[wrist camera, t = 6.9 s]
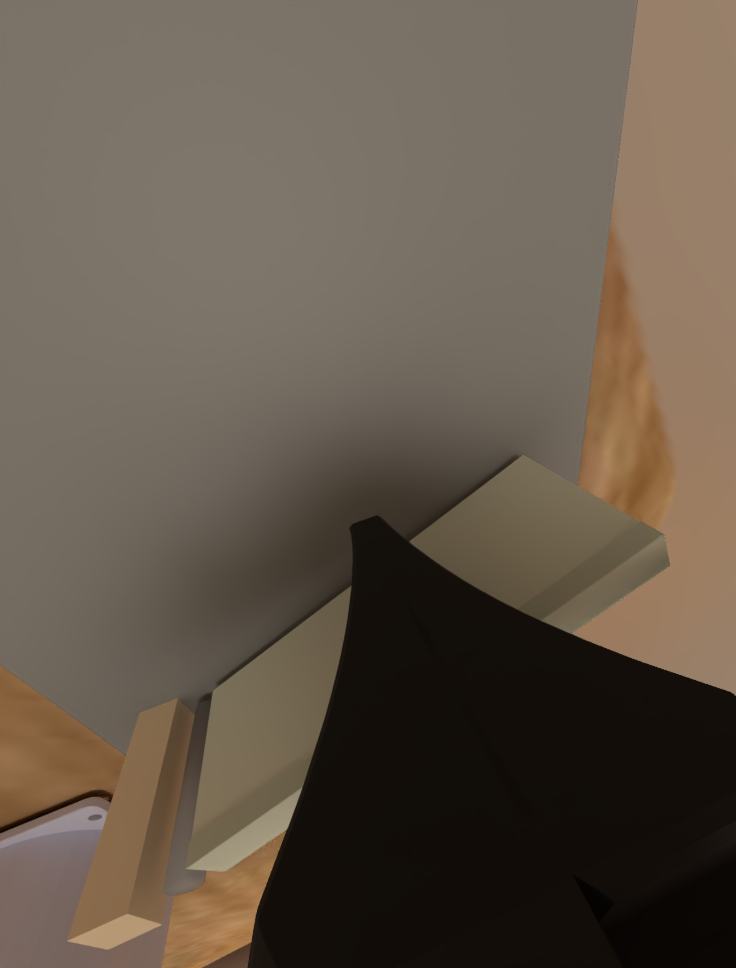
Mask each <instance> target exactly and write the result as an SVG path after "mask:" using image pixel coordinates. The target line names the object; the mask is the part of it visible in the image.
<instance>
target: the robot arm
mask: <svg viewBox="0 0 736 968" xmlns="http://www.w3.org/2000/svg"><path fill="white" fill-rule="evenodd" d="M349 530H350V533H351V538H352V552H353V564H352V584H351V594H350V602H349V610H348V618H347V624H346V630H345V635H344V641H343V646H342V651H341V655H340V660H339V664H338V668H337V673H336V677H335V681H334V685H333V689H332V693H331V697H330V700H329V704H328V707H327V711H326V715H325V718H324V721H323V725H322V728H321V731H320V734H319V737H318V740H317V743H316V747H315V750H314V753H313V756H312V759H311V762H310V765H309V769H308V772H307V775H306V778H305V781H304V784H303V787H302V790H301V793H300V796H299V799H298V801H297V804H296V807H295V810H294V812H293V815H292V818H291V820H290V823H289V826H288V828H287V831H286V834H285V836H284V839H283V842H282V844H281V847H280V850H279V852H278V855H277V858H276V860H275V863H274V866H273V869H272V871H271V874H270V877H269V879H268V882H267V885H266V887H265V890H264V893H263V895H262V898H261V901H260V903H259V906H258V909H257V913H256V918H255V924H254V930H253V936H252V942H251V949H250V955H249V962H248V968H736V696H735V695H734V694H733V693H731V692H729V691H726V690H723V689H720V688H717V687H714V686H711V685H708V684H705V683H702V682H699V681H696V680H693V679H690V678H687V677H684V676H681V675H679V674H676V673H673V672H670V671H667V670H664V669H661V668H658V667H655V666H652V665H649V664H646V663H643V662H641V661H638V660H635V659H632V658H630V657H627V656H624V655H622V654H619V653H617V652H614V651H611V650H609V649H607V648H604V647H602V646H599V645H596V644H594V643H591V642H589V641H586V640H583V639H581V638H579V637H577V636H575V635H573V634H570V633H568V632H566V631H564V630H561V629H559V628H557V627H555V626H552V625H550V624H548V623H546V622H543V621H541V620H539V619H537V618H534V617H532V616H530V615H528V614H526V613H523V612H522V611H520V610H518V609H516V608H514V607H512V606H510V605H508V604H506V603H504V602H502V601H500V600H498V599H496V598H494V597H492V596H491V595H489V594H487V593H485V592H483V591H482V590H480V589H478V588H476V587H475V586H473V585H471V584H469V583H468V582H466V581H465V580H463V579H461V578H460V577H458V576H457V575H455V574H453V573H452V572H450V571H449V570H447V569H446V568H444V567H443V566H441V565H440V564H438V563H437V562H435V561H434V560H433V559H431V558H430V557H428V556H427V555H426V554H424V553H423V552H422V551H420V550H419V549H418V548H416V547H415V546H414V545H412V544H411V543H410V542H409V541H407V540H406V539H405V538H404V537H403V536H401V535H400V534H399V533H398V532H397V531H395V530H394V529H393V528H392V527H391V526H390V525H389V524H388V523H387V522H386V521H385V520H384V519H383V518H382V517H380V516H378V515H376V516H373V517H370V518H367V519H365V520H362V521H359V522H356V523H353V524H352V525H351V527H350V528H349ZM110 804H111V803H110V802H108V801H107V800H105V799H103V798H101V797H89V798H86V799H84V800H81V801H79V802H76V803H74V804H71V805H69V806H66V807H64V808H61V809H59V810H56V811H54V812H52V813H49V814H47V815H44V816H42V817H39V818H37V819H34V820H32V821H29V822H27V823H25V824H22V825H20V826H17V827H15V828H12V829H10V830H7V831H5V832H2V833H0V968H162V964H163V958H164V952H165V945H166V939H167V933H168V927H169V921H170V915H171V908H172V902H173V896H174V895H167V901H166V907H165V913H164V918H163V924H162V925H161V926H159V927H156V928H154V929H152V930H150V931H148V932H146V933H143V934H141V935H139V936H137V937H135V938H133V939H130V940H128V941H126V942H124V943H122V944H120V945H117V946H115V947H113V948H111V949H109V950H107V949H102V948H97V947H92V946H87V945H83V944H78V943H73V942H68V941H67V939H68V936H69V933H70V929H71V926H72V923H73V920H74V917H75V914H76V911H77V908H78V904H79V901H80V898H81V895H82V892H83V889H84V886H85V882H86V879H87V876H88V873H89V870H90V867H91V864H92V861H93V857H94V854H95V851H96V848H97V845H98V842H99V839H100V835H101V832H102V829H103V826H104V823H105V820H106V817H107V814H108V810H109V807H110Z"/></svg>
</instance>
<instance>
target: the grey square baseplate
mask: <svg viewBox="0 0 736 968" xmlns="http://www.w3.org/2000/svg"><path fill="white" fill-rule="evenodd" d="M637 3H638V0H0V665H1V666H3V667H4V668H5V669H7V670H8V671H10V672H11V673H12V674H14V675H15V676H16V677H18V678H19V679H21V680H22V681H23V682H25V683H26V684H28V685H29V686H30V687H32V688H33V689H34V690H36V691H37V692H39V693H40V694H41V695H43V696H44V697H45V698H47V699H48V700H50V701H51V702H52V703H54V704H55V705H56V706H58V707H59V708H61V709H62V710H63V711H65V712H66V713H68V714H69V715H70V716H72V717H73V718H74V719H76V720H77V721H79V722H80V723H81V724H83V725H84V726H85V727H87V728H88V729H90V730H91V731H92V732H94V733H95V734H97V735H98V736H99V737H101V738H102V739H103V740H105V741H106V742H108V743H109V744H110V745H112V746H113V747H114V748H116V749H117V750H119V751H120V752H121V753H123V754H124V755H126V757H125V760H124V763H123V767H122V770H121V773H120V776H119V779H118V782H117V785H116V788H115V792H114V795H113V798H112V801H111V804H110V807H109V810H108V814H107V817H106V820H105V823H104V826H103V829H102V832H101V835H100V839H99V842H98V845H97V848H96V851H95V854H94V857H93V861H92V864H91V867H90V870H89V873H88V876H87V879H86V882H85V886H84V889H83V892H82V895H81V898H80V901H79V904H78V908H77V911H76V914H75V917H74V920H73V923H72V926H71V929H70V933H69V936H68V939H67V941H68V942H73V943H78V944H83V945H87V946H92V947H97V948H102V949H107V950H109V949H111V948H113V947H115V946H117V945H120V944H122V943H124V942H126V941H128V940H130V939H133V938H135V937H137V936H139V935H141V934H143V933H146V932H148V931H150V930H152V929H154V928H156V927H159V926H161V925H162V924H163V918H164V913H165V907H166V901H167V895H165V894H163V892H162V891H163V886H164V880H165V875H166V869H167V864H168V858H169V853H170V847H171V842H172V836H173V831H174V825H175V820H176V814H177V809H178V803H179V798H180V792H181V787H182V781H183V776H184V770H185V765H186V759H187V754H188V748H189V743H190V737H191V732H192V727H193V721H194V716H195V710H196V707H197V705H198V704H199V703H201V702H203V701H205V700H210V699H212V694H213V690H215V689H216V688H217V687H218V686H220V685H221V684H222V683H224V682H225V681H226V680H228V679H229V678H230V677H232V676H233V675H234V674H236V673H237V672H238V671H240V670H241V669H242V668H243V667H245V666H246V665H247V664H249V663H250V662H251V661H253V660H254V659H255V658H257V657H258V656H259V655H261V654H262V653H263V652H265V651H266V650H267V649H268V648H270V647H271V646H272V645H274V644H275V643H276V642H278V641H279V640H280V639H282V638H283V637H284V636H286V635H287V634H288V633H290V632H291V631H292V630H293V629H295V628H296V627H297V626H299V625H300V624H301V623H303V622H304V621H305V620H307V619H308V618H309V617H311V616H312V615H313V614H315V613H316V612H317V611H318V610H320V609H321V608H322V607H324V606H325V605H326V604H328V603H329V602H330V601H332V600H333V599H334V598H336V597H337V596H338V595H340V594H341V593H342V592H343V591H345V590H346V589H347V588H349V587H350V586H351V584H352V564H353V552H352V538H351V533H350V530H349V528H350V527H351V525H352V524H353V523H356V522H359V521H362V520H365V519H367V518H370V517H373V516H376V515H378V516H380V517H382V518H383V519H384V520H385V521H386V522H387V523H388V524H389V525H390V526H391V527H392V528H393V529H394V530H395V531H397V532H398V533H399V534H400V535H401V536H403V537H404V538H405V539H406V540H407V541H411V540H412V539H413V538H414V537H416V536H417V535H418V534H420V533H421V532H422V531H424V530H425V529H426V528H428V527H429V526H430V525H432V524H433V523H434V522H436V521H437V520H438V519H439V518H441V517H442V516H443V515H445V514H446V513H447V512H449V511H450V510H451V509H453V508H454V507H455V506H457V505H458V504H459V503H461V502H462V501H463V500H464V499H466V498H467V497H468V496H470V495H471V494H472V493H474V492H475V491H476V490H478V489H479V488H480V487H482V486H483V485H484V484H486V483H487V482H488V481H489V480H491V479H492V478H493V477H495V476H496V475H497V474H499V473H500V472H501V471H503V470H504V469H505V468H507V467H508V466H509V465H511V464H512V463H513V462H514V461H516V460H517V459H518V458H520V457H521V456H522V455H525V456H526V457H528V458H530V459H532V460H533V461H535V462H537V463H539V464H540V465H542V466H544V467H545V468H547V469H549V470H551V471H552V472H554V473H556V474H558V475H559V476H561V477H563V478H565V479H566V480H568V481H570V482H572V483H573V484H575V485H577V486H578V480H579V472H580V464H581V456H582V447H583V439H584V431H585V423H586V415H587V407H588V399H589V391H590V383H591V375H592V367H593V359H594V351H595V342H596V334H597V326H598V318H599V310H600V302H601V294H602V286H603V278H604V270H605V262H606V254H607V246H608V237H609V229H610V221H611V213H612V205H613V197H614V188H615V181H616V173H617V164H618V157H619V149H620V141H621V132H622V124H623V116H624V108H625V100H626V92H627V83H628V76H629V68H630V59H631V51H632V43H633V35H634V27H635V19H636V11H637Z"/></svg>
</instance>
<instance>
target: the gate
mask: <svg viewBox="0 0 736 968" xmlns="http://www.w3.org/2000/svg"><path fill="white" fill-rule="evenodd" d="M409 542H410V543H411V544H412V545H414V546H415V547H416V548H418V549H419V550H420V551H422V552H423V553H424V554H426V555H427V556H428V557H430V558H431V559H433V560H434V561H435V562H437V563H438V564H440V565H441V566H443V567H444V568H446V569H447V570H449V571H450V572H452V573H453V574H455V575H457V576H458V577H460V578H461V579H463V580H465V581H466V582H468V583H469V584H471V585H473V586H475V587H476V588H478V589H480V590H482V591H483V592H485V593H487V594H489V595H491V596H492V597H494V598H496V599H498V600H500V601H502V602H504V603H506V604H508V605H510V606H512V607H514V608H516V609H518V610H520V611H522V612H523V613H526V614H528V615H530V616H532V617H534V618H537V619H539V620H541V621H543V622H546V623H548V624H550V625H552V626H555V627H557V628H559V629H561V630H564V631H566V632H568V633H570V634H572V633H573V632H575V631H576V630H578V629H579V628H580V627H582V626H583V625H585V624H586V623H588V622H589V621H591V620H592V619H594V618H595V617H596V616H598V615H599V614H601V613H602V612H604V611H605V610H607V609H608V608H610V607H611V606H612V605H614V604H615V603H617V602H618V601H620V600H621V599H623V598H624V597H626V596H627V595H628V594H630V593H631V592H633V591H634V590H636V589H637V588H639V587H640V586H642V585H643V584H644V583H646V582H647V581H649V580H650V579H651V578H653V577H655V576H656V575H657V574H659V573H660V572H662V571H663V570H665V569H666V568H667V567H669V566H670V562H669V558H668V553H667V548H666V543H665V538H664V534H663V533H661V532H659V531H657V530H656V529H654V528H652V527H650V526H649V525H647V524H645V523H643V522H642V521H641V522H640V521H638V520H636V519H634V518H633V517H631V516H629V515H627V514H626V513H624V512H622V511H620V510H619V509H617V508H615V507H613V506H612V505H610V504H608V503H606V502H605V501H603V500H601V499H600V498H598V497H596V496H594V495H593V494H591V493H589V492H587V491H586V490H584V489H582V488H580V487H579V486H577V485H575V484H573V483H572V482H570V481H568V480H566V479H565V478H563V477H561V476H559V475H558V474H556V473H554V472H552V471H551V470H549V469H547V468H545V467H544V466H542V465H540V464H539V463H537V462H535V461H533V460H532V459H530V458H528V457H526V456H525V455H522V456H521V457H520V458H518V459H517V460H516V461H514V462H513V463H512V464H511V465H509V466H508V467H507V468H505V469H504V470H503V471H501V472H500V473H499V474H497V475H496V476H495V477H493V478H492V479H491V480H489V481H488V482H487V483H486V484H484V485H483V486H482V487H480V488H479V489H478V490H476V491H475V492H474V493H472V494H471V495H470V496H468V497H467V498H466V499H464V500H463V501H462V502H461V503H459V504H458V505H457V506H455V507H454V508H453V509H451V510H450V511H449V512H447V513H446V514H445V515H443V516H442V517H441V518H439V519H438V520H437V521H436V522H434V523H433V524H432V525H430V526H429V527H428V528H426V529H425V530H424V531H422V532H421V533H420V534H418V535H417V536H416V537H414V538H413V539H412V540H411V541H409ZM350 594H351V586H350V587H349V588H347V589H346V590H345V591H343V592H342V593H341V594H340V595H338V596H337V597H336V598H334V599H333V600H332V601H330V602H329V603H328V604H326V605H325V606H324V607H322V608H321V609H320V610H318V611H317V612H316V613H315V614H313V615H312V616H311V617H309V618H308V619H307V620H305V621H304V622H303V623H301V624H300V625H299V626H297V627H296V628H295V629H293V630H292V631H291V632H290V633H288V634H287V635H286V636H284V637H283V638H282V639H280V640H279V641H278V642H276V643H275V644H274V645H272V646H271V647H270V648H268V649H267V650H266V651H265V652H263V653H262V654H261V655H259V656H258V657H257V658H255V659H254V660H253V661H251V662H250V663H249V664H247V665H246V666H245V667H243V668H242V669H241V670H240V671H238V672H237V673H236V674H234V675H233V676H232V677H230V678H229V679H228V680H226V681H225V682H224V683H222V684H221V685H220V686H218V687H217V688H216V689H215V690H213V694H212V699H210V700H205V701H203V702H201V703H199V704H198V705H197V707H196V710H195V716H194V721H193V727H192V732H191V737H190V743H189V748H188V754H187V759H186V765H185V770H184V776H183V781H182V787H181V792H180V798H179V803H178V809H177V814H176V820H175V825H174V831H173V836H172V842H171V847H170V853H169V858H168V864H167V869H166V875H165V880H164V886H163V891H162V892H163V894H165V895H179V894H183V893H187V892H189V891H192V890H194V889H196V888H198V887H199V886H201V885H202V884H203V883H204V881H205V874H206V870H207V871H223V872H226V871H227V870H229V869H230V868H232V867H233V866H235V865H236V864H238V863H239V862H241V861H242V860H243V859H245V858H246V857H248V856H249V855H251V854H252V853H254V852H255V851H257V850H258V849H259V848H261V847H262V846H264V845H265V844H267V843H268V842H270V841H271V840H273V839H274V838H275V837H277V836H278V835H280V834H281V833H283V832H284V831H286V830H287V828H288V826H289V823H290V820H291V818H292V815H293V812H294V810H295V807H296V804H297V801H298V799H299V796H300V793H301V790H302V787H303V784H304V781H305V778H306V775H307V772H308V769H309V765H310V762H311V759H312V756H313V753H314V750H315V747H316V743H317V740H318V737H319V734H320V731H321V728H322V725H323V721H324V718H325V715H326V711H327V707H328V704H329V700H330V697H331V693H332V689H333V685H334V681H335V677H336V673H337V668H338V664H339V660H340V655H341V651H342V646H343V641H344V635H345V630H346V624H347V618H348V610H349V602H350Z"/></svg>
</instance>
